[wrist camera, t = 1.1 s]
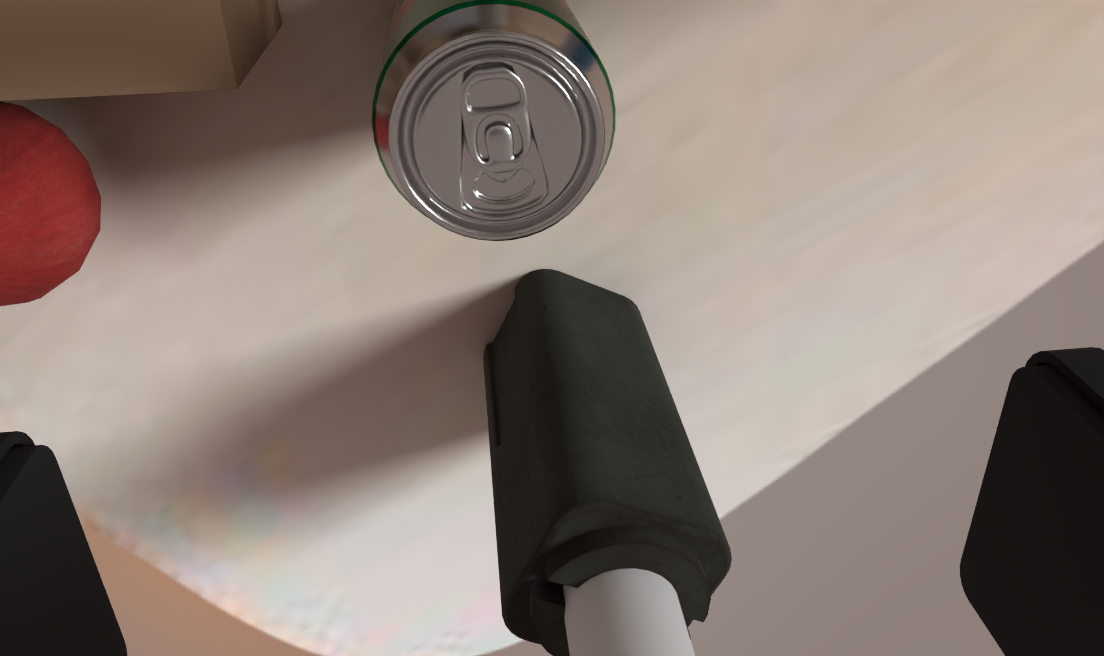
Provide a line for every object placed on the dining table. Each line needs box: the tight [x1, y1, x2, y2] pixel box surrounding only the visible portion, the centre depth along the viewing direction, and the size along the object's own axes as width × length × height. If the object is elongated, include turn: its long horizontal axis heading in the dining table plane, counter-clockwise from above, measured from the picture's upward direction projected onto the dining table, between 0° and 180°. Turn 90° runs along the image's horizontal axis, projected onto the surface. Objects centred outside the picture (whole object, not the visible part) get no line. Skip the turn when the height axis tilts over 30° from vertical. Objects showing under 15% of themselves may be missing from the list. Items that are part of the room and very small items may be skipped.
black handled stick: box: [484, 269, 732, 656], centre depth 24 cm, size 5×5×25 cm
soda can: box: [372, 0, 615, 241], centre depth 23 cm, size 5×5×12 cm
